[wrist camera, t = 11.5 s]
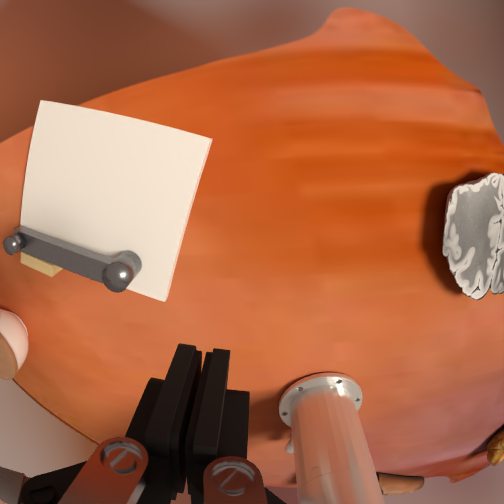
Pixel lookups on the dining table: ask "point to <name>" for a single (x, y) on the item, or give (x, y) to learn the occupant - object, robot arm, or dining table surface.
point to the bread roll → (496, 448)
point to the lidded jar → (12, 344)
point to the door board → (112, 188)
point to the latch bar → (76, 258)
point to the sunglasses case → (398, 484)
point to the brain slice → (476, 235)
